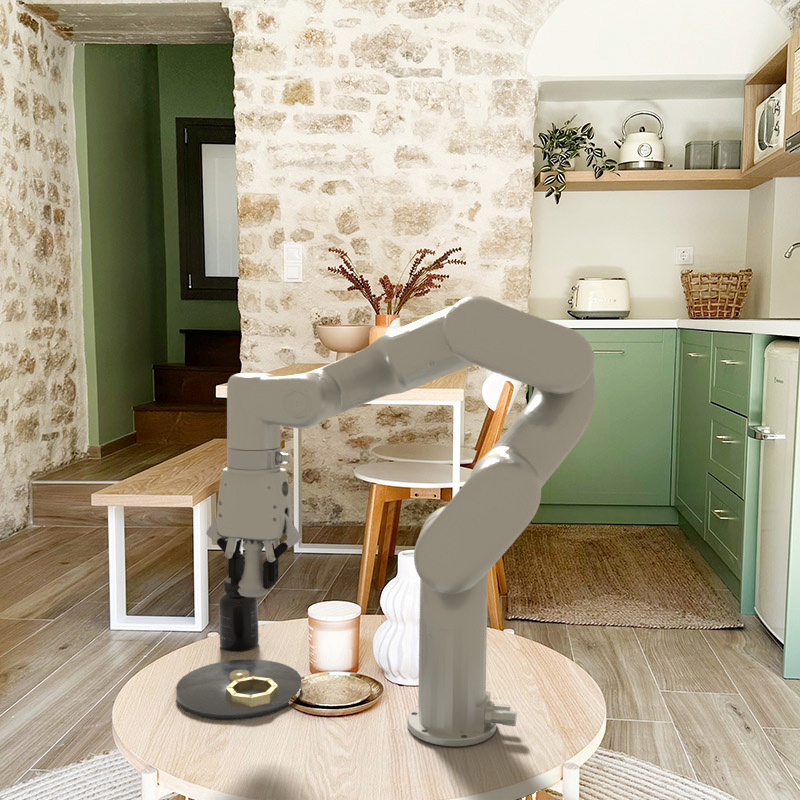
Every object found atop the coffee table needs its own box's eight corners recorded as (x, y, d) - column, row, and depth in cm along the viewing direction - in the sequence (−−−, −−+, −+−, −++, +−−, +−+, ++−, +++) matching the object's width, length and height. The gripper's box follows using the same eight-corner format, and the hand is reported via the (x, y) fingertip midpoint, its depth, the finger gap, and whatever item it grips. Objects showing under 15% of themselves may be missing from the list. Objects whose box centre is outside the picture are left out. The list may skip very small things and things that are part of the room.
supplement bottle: (245, 635, 158) (244, 571, 157) (265, 646, 153) (265, 579, 152) (211, 644, 154) (211, 578, 153) (232, 655, 149) (231, 587, 148)
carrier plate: (319, 675, 140) (319, 657, 140) (270, 727, 122) (270, 706, 122) (213, 662, 145) (213, 645, 145) (152, 710, 127) (151, 690, 127)
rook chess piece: (253, 600, 121) (253, 544, 121) (230, 594, 124) (231, 539, 123) (275, 592, 125) (275, 538, 124) (253, 586, 128) (253, 533, 127)
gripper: (318, 459, 125) (317, 582, 126) (211, 453, 129) (211, 573, 130) (300, 467, 117) (299, 598, 119) (187, 460, 121) (187, 587, 123)
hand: (253, 583), depth 124 cm, fingers closed on rook chess piece, 4 cm apart
